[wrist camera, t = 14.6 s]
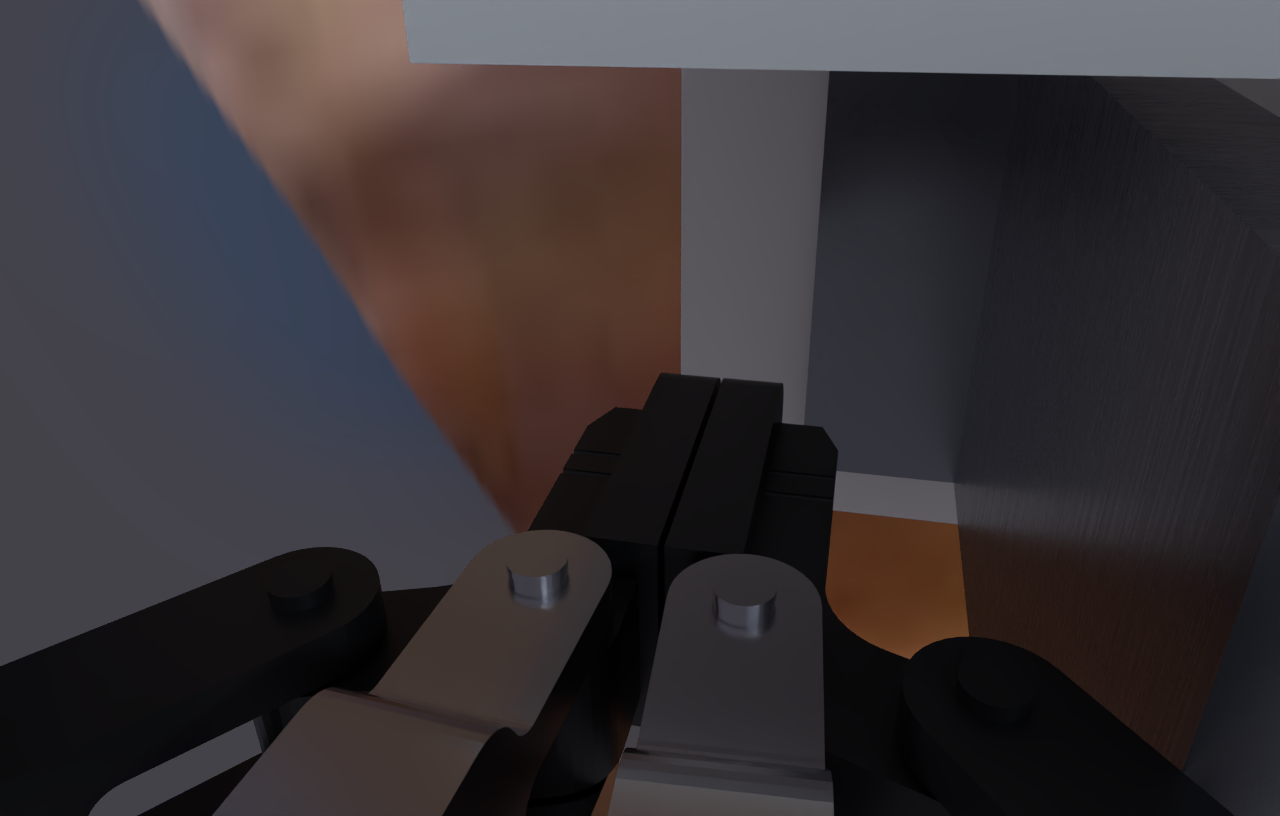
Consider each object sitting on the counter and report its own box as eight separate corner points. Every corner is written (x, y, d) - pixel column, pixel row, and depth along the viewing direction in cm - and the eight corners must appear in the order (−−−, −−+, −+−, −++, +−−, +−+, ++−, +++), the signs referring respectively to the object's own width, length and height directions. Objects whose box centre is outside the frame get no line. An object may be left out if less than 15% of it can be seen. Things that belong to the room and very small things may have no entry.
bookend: (1102, 11, 15) (1645, 336, 4) (1012, 468, 19) (1173, 1245, 8) (836, 10, 16) (711, 277, 5) (803, 447, 20) (696, 1126, 9)
